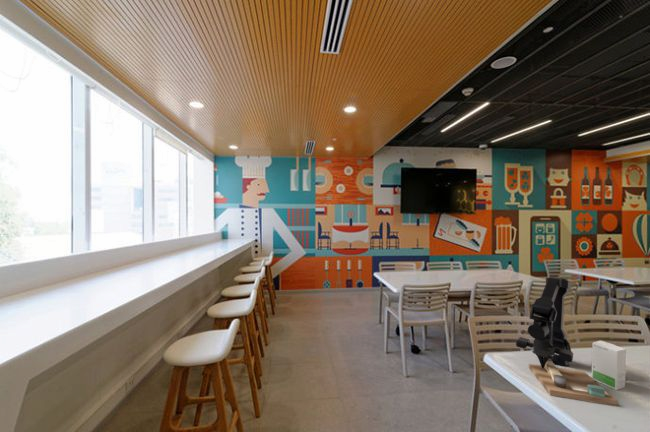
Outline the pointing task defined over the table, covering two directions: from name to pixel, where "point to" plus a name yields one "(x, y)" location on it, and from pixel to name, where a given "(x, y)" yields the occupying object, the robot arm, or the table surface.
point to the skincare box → (608, 364)
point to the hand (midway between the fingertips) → (543, 368)
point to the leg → (555, 374)
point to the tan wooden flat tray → (573, 385)
